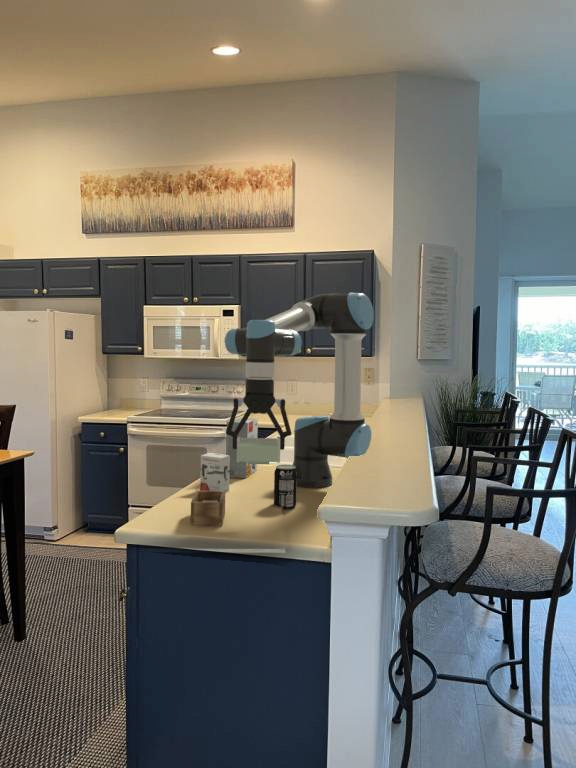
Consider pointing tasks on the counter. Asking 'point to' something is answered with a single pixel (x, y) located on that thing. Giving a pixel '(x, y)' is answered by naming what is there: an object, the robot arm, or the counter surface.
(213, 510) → the crate
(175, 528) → the counter surface
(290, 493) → the beverage can
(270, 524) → the counter surface
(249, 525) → the counter surface
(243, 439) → the lid
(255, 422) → the hard drive box
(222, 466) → the ink box
